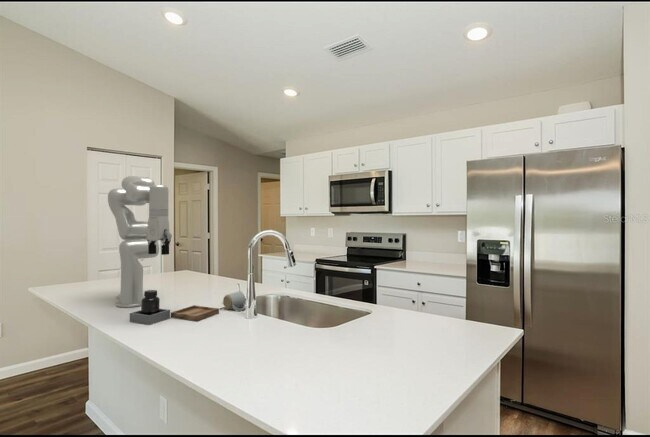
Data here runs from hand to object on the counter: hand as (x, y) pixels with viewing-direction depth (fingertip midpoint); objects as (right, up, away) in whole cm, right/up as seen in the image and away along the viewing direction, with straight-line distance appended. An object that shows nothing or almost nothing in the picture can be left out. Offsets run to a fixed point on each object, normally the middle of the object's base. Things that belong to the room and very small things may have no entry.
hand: (158, 254), depth 151 cm
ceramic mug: (+29, -28, +16) cm, 43 cm away
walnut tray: (+14, -27, +4) cm, 31 cm away
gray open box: (-1, -27, -4) cm, 27 cm away
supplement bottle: (-1, -27, -4) cm, 27 cm away
